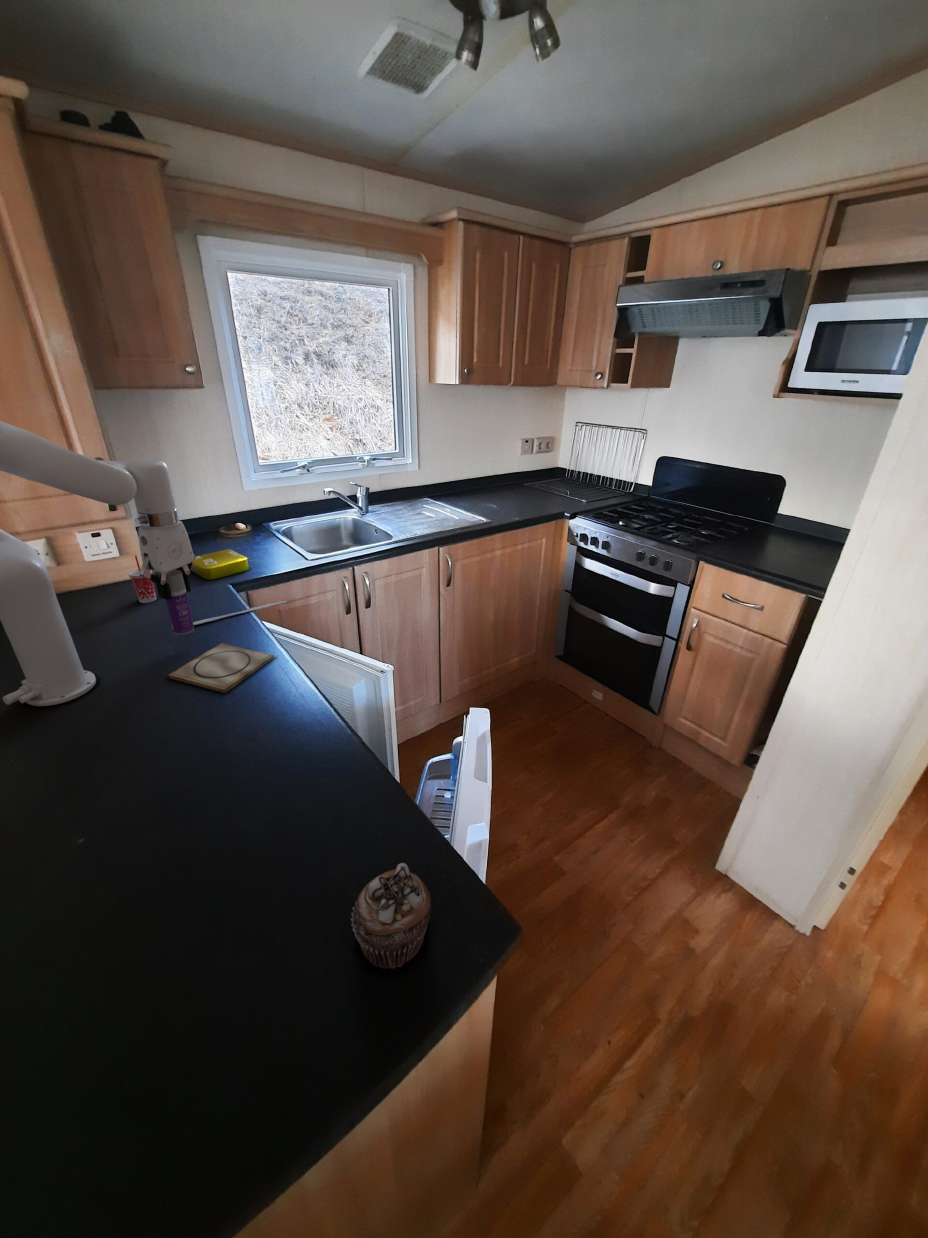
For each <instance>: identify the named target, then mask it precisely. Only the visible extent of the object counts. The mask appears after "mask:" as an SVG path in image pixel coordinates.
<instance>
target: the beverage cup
mask: <svg viewBox="0 0 928 1238" xmlns="http://www.w3.org/2000/svg"><path fill="white" fill-rule="evenodd" d="M134 557H135V562H136V566H137V569H134V570H130V571H129V572H128V574H127V575H128V578H130V580H131V583H132V587H133V588H134V591H135V594H136V596H137V599H138V602H139V603H141V604H148V603H152V602H155V601H156V600H157V599H158V598H157V593H156V588H155V587H156V586H155V583H153V582H152V581H151V580H149V579H147V578H145V577H142V576H140V575H139V572H140V570H141V565H140V562H139V559H138V555H134ZM150 573H151V574H152V570H150Z"/></svg>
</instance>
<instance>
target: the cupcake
mask: <svg viewBox="0 0 928 1238" xmlns="http://www.w3.org/2000/svg"><path fill="white" fill-rule="evenodd" d="M431 898H432V897H431V893H430V891H429V889H428V887H427V886H426V884H425V883H424V882H423V880H422V879H421V878H420V877H419V876H418V875H417V874H415V873H413V872H411V871H410V869H409V866H408V864H406V863H405V862H400V863H399V864H397V866H396V868H395V869H390V870H388V871H387V870H386V871H385V872H383V873H381V874H378V875H377V876H376V877H374V878H373V879H372V880H371V881H369V882H368V883H367V884H366V885H365V886H364V887H363V889H362V890H361V891H360V892H359V894H358V896H357V898H356V901H355V902H354V904H355V906H353V907H352V912H351V913H350V915H351V918H350V921H351V928H352V932H353V933H354V936H355V939H356V940H357V942H358V945H359V946H360V948H361V951H362V953H363V955H364V957H365V958H366V959H368V961H369V962H370V963H371V964H372V965H373V966H375V967H379V968H381V969H383V970H385V969H392V970H394V969H396V968H402V967H403V966H404V964H405V963H408V962H409V961H411V960H412V959H413V958H414V957H415V956H416V955H417V954H418V952H419V950H420V949H421V947H422V945H423V942H424V939H425V935H426V931H427V928H428V924H429V921H430V919H431V911H432V903H431V902H432V899H431Z"/></svg>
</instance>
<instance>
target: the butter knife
mask: <svg viewBox="0 0 928 1238" xmlns="http://www.w3.org/2000/svg"><path fill="white" fill-rule="evenodd" d="M283 603H287V600H281V601H277V602H272V603H265V604H262V605H258V606H254V607H251V608H247V609H244V610H241V611H237V612H233V613H228V614H223V615H218V616H214V617H209V618H206V619H200V620H197V621H193V625H194V626H197V625H203V624H206V623H211V622H214V621H218V620H221V619H224V618H229V617H232V616H237V615H240V614H244V613H248V612H251V611H257V610H261V609H264V608H269V607H272V606H276V605H280V604H283Z"/></svg>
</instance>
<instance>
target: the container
mask: <svg viewBox="0 0 928 1238" xmlns="http://www.w3.org/2000/svg"><path fill="white" fill-rule="evenodd" d="M166 583H168V584H169V587H170V591H171V596H172V599H170V600H167V599H164V600H165V605H166V609H167V613H168V619H169V622H170V626H171V630H172V634H173V635H176V636H184V635H189V634H191V633H193V632H194V631H195V625H193V622H194V620H193V616H192V611H191V605H190V602H189V597H188V592H187V591H186V587H185V583H184V579H183V575H182V571H180V570H176V569H174V570H171V571H168V572H166Z"/></svg>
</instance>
